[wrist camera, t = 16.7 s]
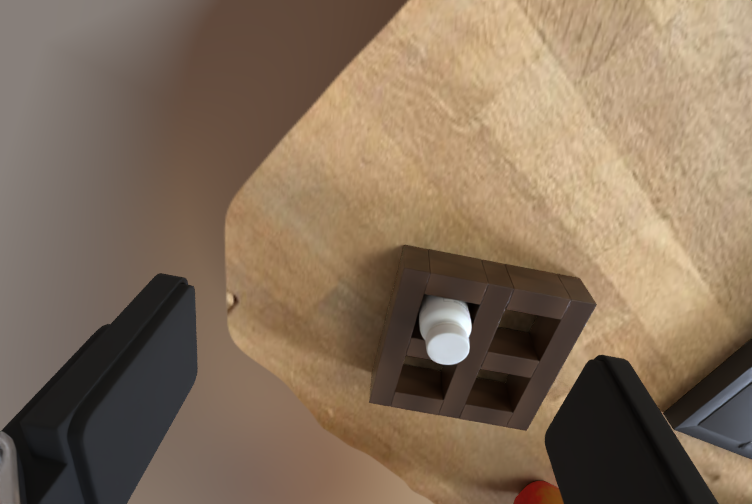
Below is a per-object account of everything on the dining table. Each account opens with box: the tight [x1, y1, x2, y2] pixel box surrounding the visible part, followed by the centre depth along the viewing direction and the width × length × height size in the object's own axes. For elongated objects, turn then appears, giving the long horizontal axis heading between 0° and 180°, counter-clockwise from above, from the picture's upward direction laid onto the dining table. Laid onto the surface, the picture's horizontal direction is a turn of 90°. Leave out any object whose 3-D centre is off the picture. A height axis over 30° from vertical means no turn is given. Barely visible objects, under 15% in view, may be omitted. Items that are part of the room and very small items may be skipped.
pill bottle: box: [419, 294, 472, 365], centre depth 38 cm, size 4×4×8 cm
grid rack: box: [369, 245, 597, 431], centre depth 41 cm, size 16×16×4 cm
